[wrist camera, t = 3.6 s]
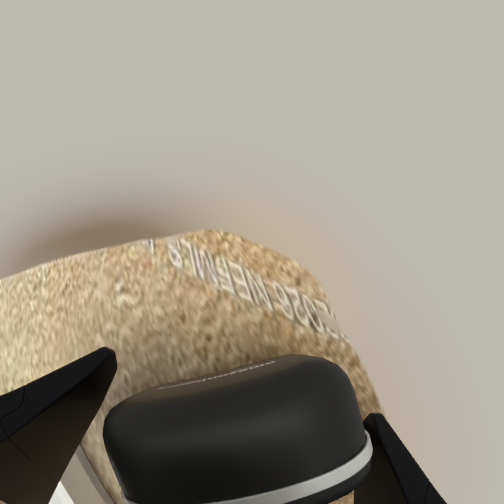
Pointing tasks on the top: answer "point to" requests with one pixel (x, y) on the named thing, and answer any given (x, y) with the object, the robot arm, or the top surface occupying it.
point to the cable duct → (80, 483)
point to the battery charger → (242, 437)
